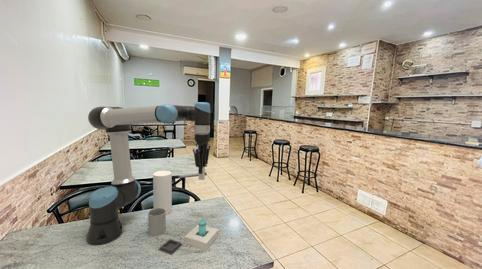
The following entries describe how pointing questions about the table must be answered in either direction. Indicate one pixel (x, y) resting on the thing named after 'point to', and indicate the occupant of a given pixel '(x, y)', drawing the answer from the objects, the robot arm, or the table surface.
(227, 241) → the table surface
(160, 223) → the mug
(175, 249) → the grey square socket
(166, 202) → the tall pillar cylinder
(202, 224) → the plug
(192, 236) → the port
